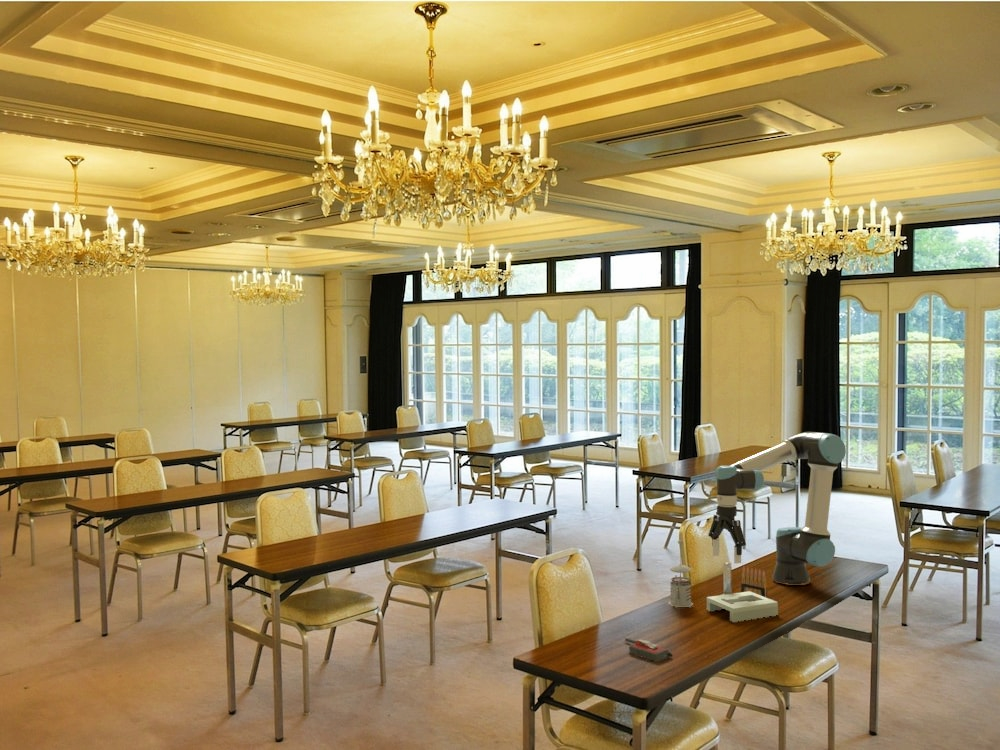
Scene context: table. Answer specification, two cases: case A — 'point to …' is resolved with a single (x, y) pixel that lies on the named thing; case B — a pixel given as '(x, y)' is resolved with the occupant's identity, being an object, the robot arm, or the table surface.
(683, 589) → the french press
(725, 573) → the steel peg
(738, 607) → the keyhole board
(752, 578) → the ammunition clip
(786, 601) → the table surface
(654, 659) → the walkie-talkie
